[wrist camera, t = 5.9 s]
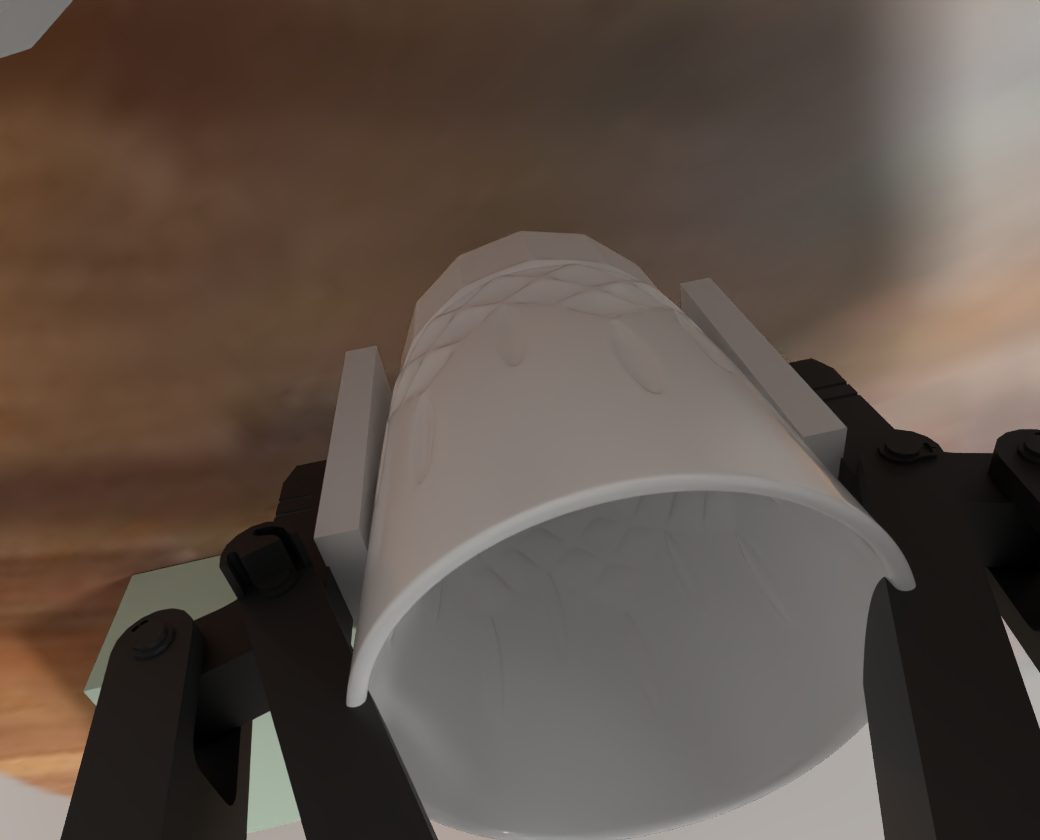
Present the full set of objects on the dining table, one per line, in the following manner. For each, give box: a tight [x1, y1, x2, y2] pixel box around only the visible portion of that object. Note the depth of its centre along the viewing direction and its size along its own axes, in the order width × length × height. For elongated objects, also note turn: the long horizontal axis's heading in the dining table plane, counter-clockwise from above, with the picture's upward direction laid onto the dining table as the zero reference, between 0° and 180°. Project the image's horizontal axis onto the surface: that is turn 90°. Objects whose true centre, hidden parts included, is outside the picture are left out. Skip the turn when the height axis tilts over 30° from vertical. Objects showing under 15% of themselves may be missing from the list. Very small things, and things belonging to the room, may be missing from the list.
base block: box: [83, 555, 356, 834], centre depth 27 cm, size 10×10×5 cm
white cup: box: [346, 231, 916, 840], centre depth 14 cm, size 8×8×10 cm
